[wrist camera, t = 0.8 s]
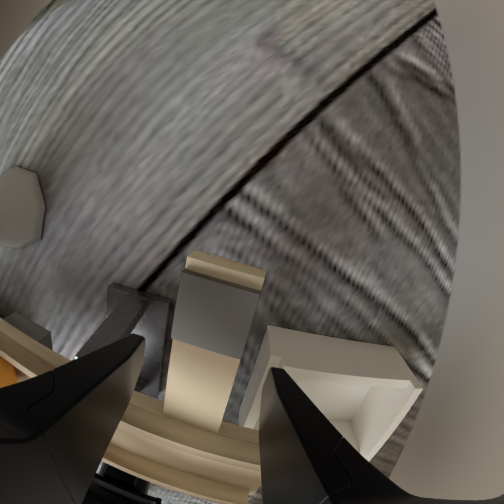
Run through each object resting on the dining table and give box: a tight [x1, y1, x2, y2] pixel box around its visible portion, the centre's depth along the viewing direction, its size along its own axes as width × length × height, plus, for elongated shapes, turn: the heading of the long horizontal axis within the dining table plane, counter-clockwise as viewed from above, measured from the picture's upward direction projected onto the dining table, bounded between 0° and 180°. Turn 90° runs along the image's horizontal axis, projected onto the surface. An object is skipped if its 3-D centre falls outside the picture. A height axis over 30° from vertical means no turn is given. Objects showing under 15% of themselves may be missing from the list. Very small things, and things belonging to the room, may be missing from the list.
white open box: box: [239, 325, 423, 461], centre depth 22 cm, size 10×12×6 cm
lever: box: [0, 250, 266, 504], centre depth 14 cm, size 15×22×6 cm
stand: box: [75, 283, 171, 398], centre depth 19 cm, size 10×5×9 cm, turn 166°
